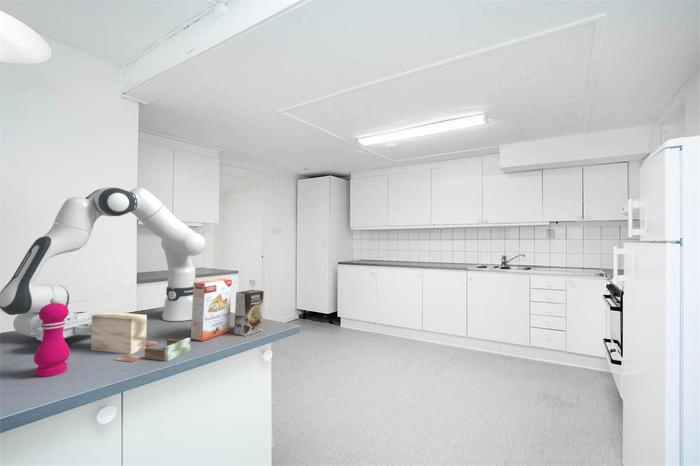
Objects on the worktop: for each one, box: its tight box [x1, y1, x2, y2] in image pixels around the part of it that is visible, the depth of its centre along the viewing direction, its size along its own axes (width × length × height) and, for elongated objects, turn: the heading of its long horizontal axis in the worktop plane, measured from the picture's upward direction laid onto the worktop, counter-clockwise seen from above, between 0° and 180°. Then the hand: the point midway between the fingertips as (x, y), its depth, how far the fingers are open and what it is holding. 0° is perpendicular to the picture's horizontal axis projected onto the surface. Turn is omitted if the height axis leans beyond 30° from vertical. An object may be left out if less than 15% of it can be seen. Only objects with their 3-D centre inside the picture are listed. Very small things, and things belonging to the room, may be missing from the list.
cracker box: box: [190, 278, 233, 342], centre depth 126 cm, size 14×6×21 cm, turn 158°
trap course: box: [114, 337, 191, 363], centre depth 107 cm, size 17×21×4 cm
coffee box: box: [233, 289, 265, 337], centre depth 131 cm, size 9×6×16 cm
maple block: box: [90, 311, 148, 355], centre depth 109 cm, size 6×15×11 cm, turn 79°
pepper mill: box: [33, 298, 71, 378], centre depth 90 cm, size 7×7×20 cm
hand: (93, 329), depth 111 cm, fingers closed
